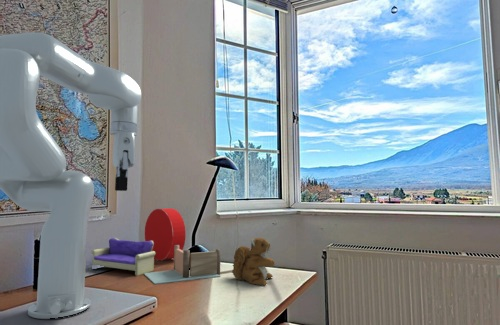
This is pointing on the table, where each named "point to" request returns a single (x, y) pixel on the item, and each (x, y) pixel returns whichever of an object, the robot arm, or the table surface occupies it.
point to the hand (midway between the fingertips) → (121, 190)
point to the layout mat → (173, 276)
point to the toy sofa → (126, 256)
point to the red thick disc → (165, 232)
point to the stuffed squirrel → (253, 262)
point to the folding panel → (178, 259)
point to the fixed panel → (201, 263)
